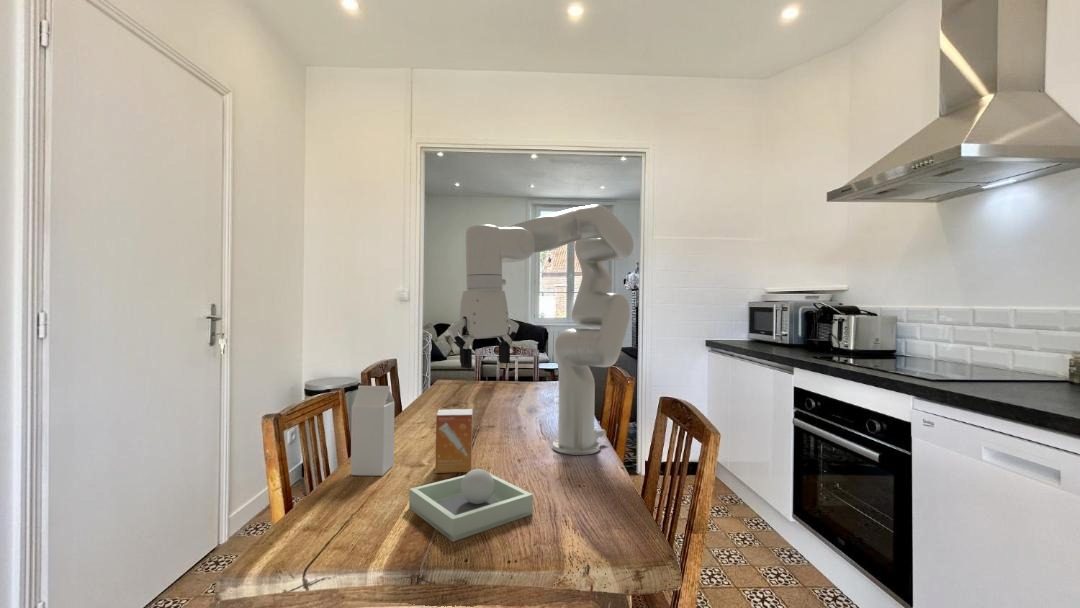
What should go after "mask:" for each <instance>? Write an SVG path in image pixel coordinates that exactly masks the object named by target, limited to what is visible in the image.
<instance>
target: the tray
mask: <svg viewBox="0 0 1080 608" xmlns="http://www.w3.org/2000/svg"><path fill="white" fill-rule="evenodd" d="M488 473H489V474H490V475H491V476H492V478H493V481H494V491H493V493H492V495H491V497H492V498H494V499H496V500H498V501H499V502H497V503H494V504H491V505H488V506H484V507H481V508H478V509H475V510H471V511H468V512H465V513H462V514H458V515H454V514H452V513H451V512H450V511H448V510H447V509H445V508H444V507H442V506H441V505H439V504H438V503H436V502H438V501H442V500H445V499H449V498H452V497H456V496H460V495H462V492H461V483H462V480H463V478H464V476H465V475H466V474H464V475H460V476H456V477H452V478H448V479H444V480H440V481H435V482H432V483H427V484H423V485H420V486H415V487H412V488H409V497H408V498H409V504H408V506H409V507H408V508H409V509H410V510H411V511H412V512H413V513H415V514H416V515H417V516H419V518H422V520H424V521H425V522H426V523H428V524H429V525H430V526H431V527H432V528H434V529H435V530H437V532H439V533H441V534H442V535H443V536H444V537H445V538H447V539H448V540H449V541H451V542H452V543H454V542H456V541H459V540H462V539H464V538H467V537H471V536H474V535H476V534H479V533H482V532H485V531H488V530H491V529H494V528H497V527H500V526H503V525H505V524H508V523H511V522H513V521H517V520H520V519H523V518H525V517H529V516H532V515H533V505H534V504H533V501H534V500H533V499H534V496H533V495H534V494H533V493H531V492H529V491H527V490H524V489H523V488H521V487H518V486H516V485H514V484H513V483H510V482H508V481H507V480H504V479H502V478H500V477H498V476H496V475H494V474H492V473H491V472H488Z"/></svg>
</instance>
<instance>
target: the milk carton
mask: <svg viewBox="0 0 1080 608" xmlns="http://www.w3.org/2000/svg"><path fill="white" fill-rule="evenodd" d="M390 389H391V387H390V385H358V389H357V393H356V395H355V398H354V401H353V403H352V405H351V426H350V427H351V438H350V439H351V443H350V475H351V476H370V477H371V476H373V477H374V476H377V477H379V476H384V475H385V474H386V473H388V471H389V470H390V469H391V468H392V467H394V465H395V464H394V463H395V459H394V458H395V399H394V397H393V395H392V393H391V390H390Z"/></svg>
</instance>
